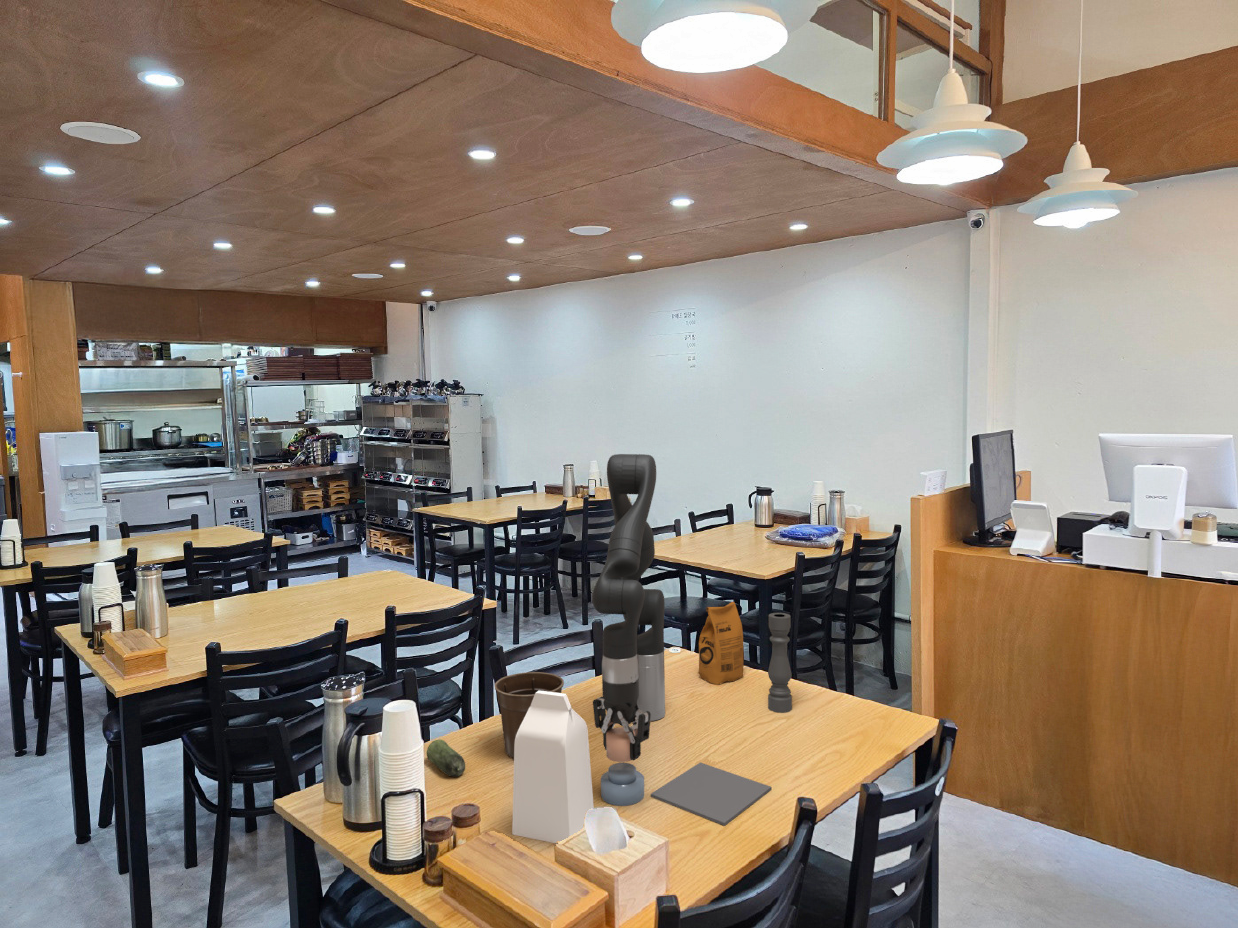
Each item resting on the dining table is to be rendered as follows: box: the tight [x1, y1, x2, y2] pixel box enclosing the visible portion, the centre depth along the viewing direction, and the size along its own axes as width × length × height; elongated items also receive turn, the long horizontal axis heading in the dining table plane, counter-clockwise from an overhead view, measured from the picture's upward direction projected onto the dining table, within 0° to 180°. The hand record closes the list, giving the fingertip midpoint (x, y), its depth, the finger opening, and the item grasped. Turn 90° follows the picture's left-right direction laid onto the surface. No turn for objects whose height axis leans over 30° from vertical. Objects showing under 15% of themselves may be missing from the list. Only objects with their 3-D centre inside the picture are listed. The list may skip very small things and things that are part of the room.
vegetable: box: [426, 739, 466, 778], centre depth 173 cm, size 14×5×5 cm, turn 36°
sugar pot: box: [600, 762, 645, 807], centre depth 159 cm, size 9×9×6 cm
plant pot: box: [494, 671, 565, 759], centre depth 181 cm, size 16×16×16 cm
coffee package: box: [698, 601, 744, 686], centre depth 227 cm, size 10×12×22 cm
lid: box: [605, 726, 635, 763], centre depth 159 cm, size 6×6×4 cm
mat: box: [650, 761, 772, 827], centre depth 159 cm, size 18×18×1 cm
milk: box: [511, 690, 595, 844], centre depth 148 cm, size 12×12×26 cm
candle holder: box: [767, 612, 793, 714], centre depth 203 cm, size 6×6×25 cm
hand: (621, 753), depth 159 cm, fingers closed on lid, 6 cm apart
